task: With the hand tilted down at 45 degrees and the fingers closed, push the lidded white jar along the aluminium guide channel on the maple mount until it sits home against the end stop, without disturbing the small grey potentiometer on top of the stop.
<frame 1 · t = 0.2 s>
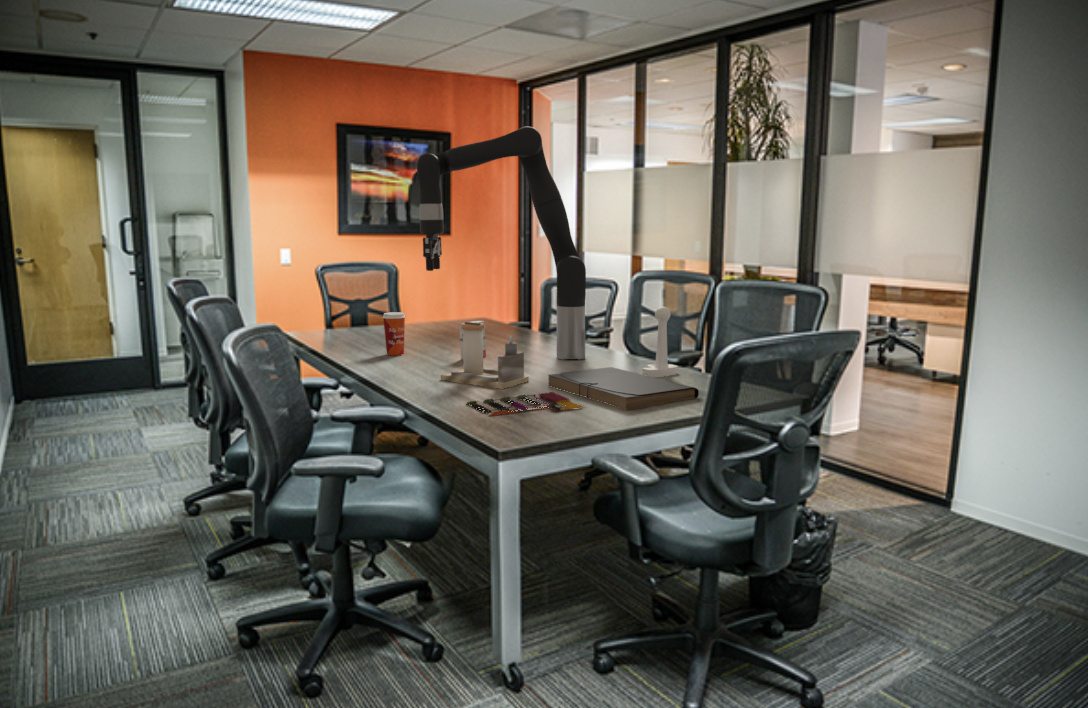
hand: (433, 269, 244), 29 cm above the table, tool pointing down, fingers open, 8 cm apart
colourful patterned flat panel: (526, 410, 185), on the table
paper cup: (395, 355, 257), on the table
ink box: (473, 358, 250), on the table
lidded white jar: (473, 348, 215), point 9 cm above the table, slide at 0.0 cm
maple mount: (484, 380, 214), on the table
potentiometer: (511, 354, 208), point 8 cm above the table, touching maple mount
joystick: (657, 374, 223), on the table
brown book: (620, 394, 200), on the table
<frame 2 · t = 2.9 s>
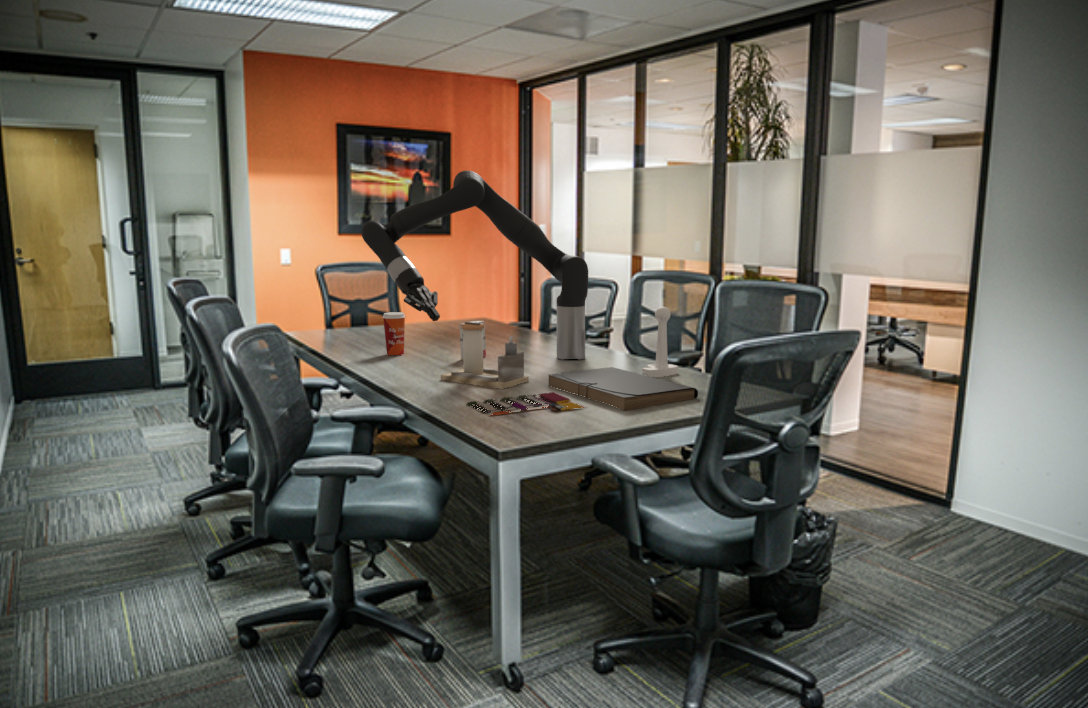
hand: (436, 319, 221), 16 cm above the table, tool tilted 45°, fingers closed
nothing on the table moved.
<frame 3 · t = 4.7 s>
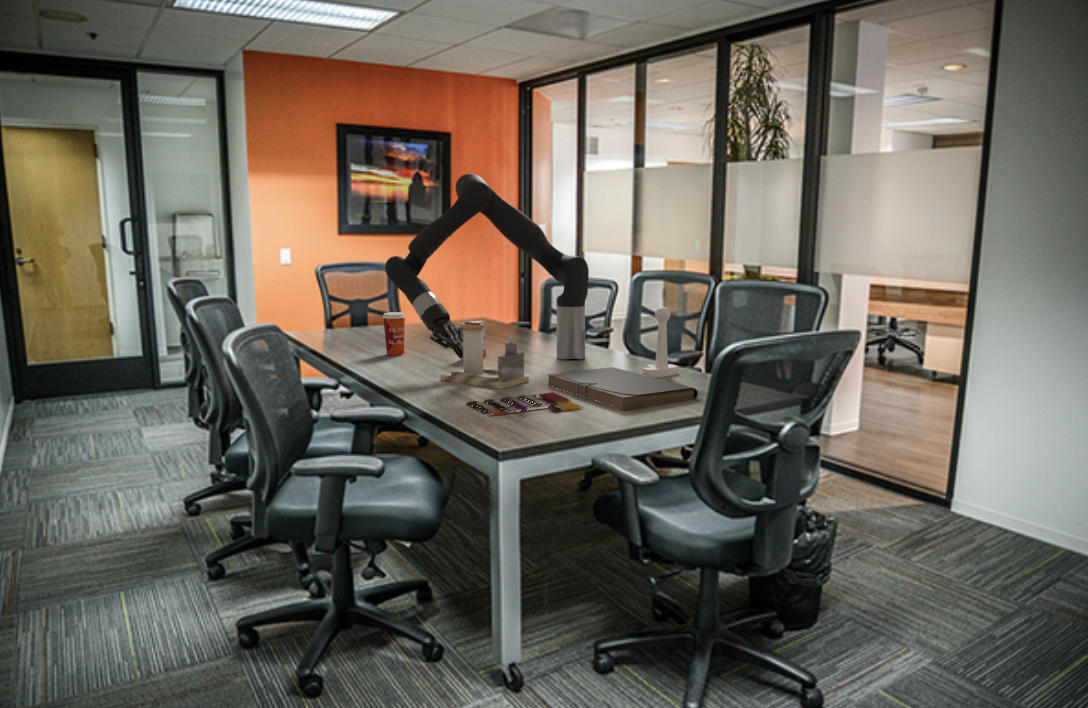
hand: (463, 356, 217), 6 cm above the table, tool tilted 45°, fingers closed
lidded white jar: (473, 348, 215), point 9 cm above the table, slide at 0.0 cm, touching gripper
everything else where it was.
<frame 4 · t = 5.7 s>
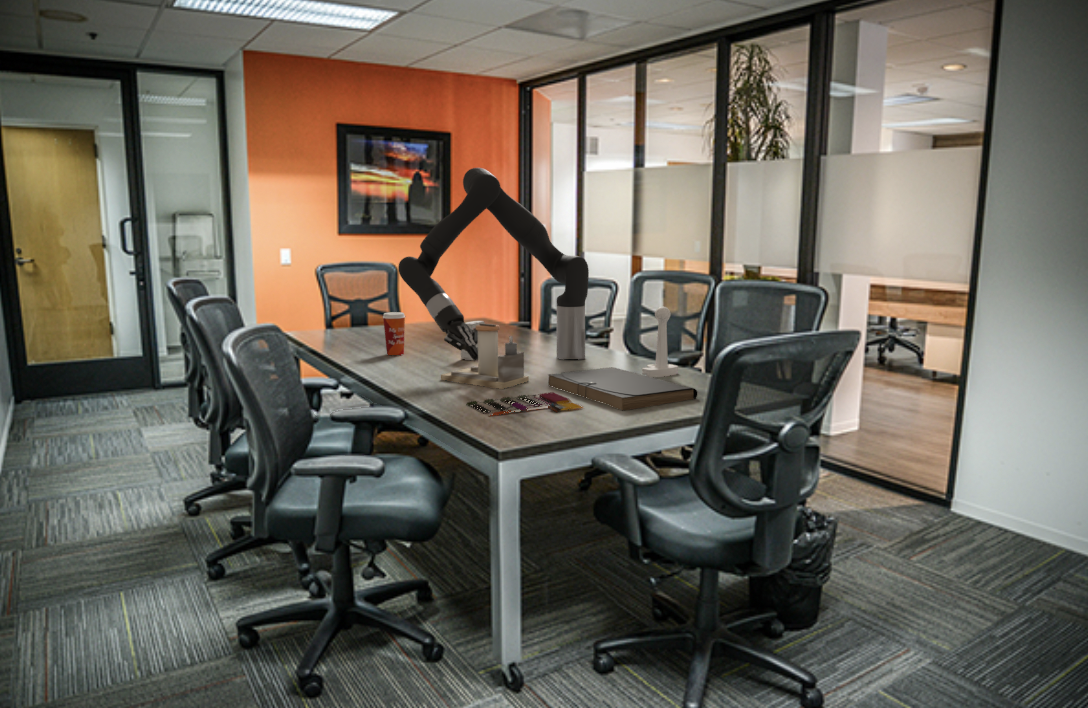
hand: (478, 358, 214), 6 cm above the table, tool tilted 45°, fingers closed
lidded white jar: (487, 349, 212), point 9 cm above the table, slide at 5.4 cm, touching gripper
everything else where it was.
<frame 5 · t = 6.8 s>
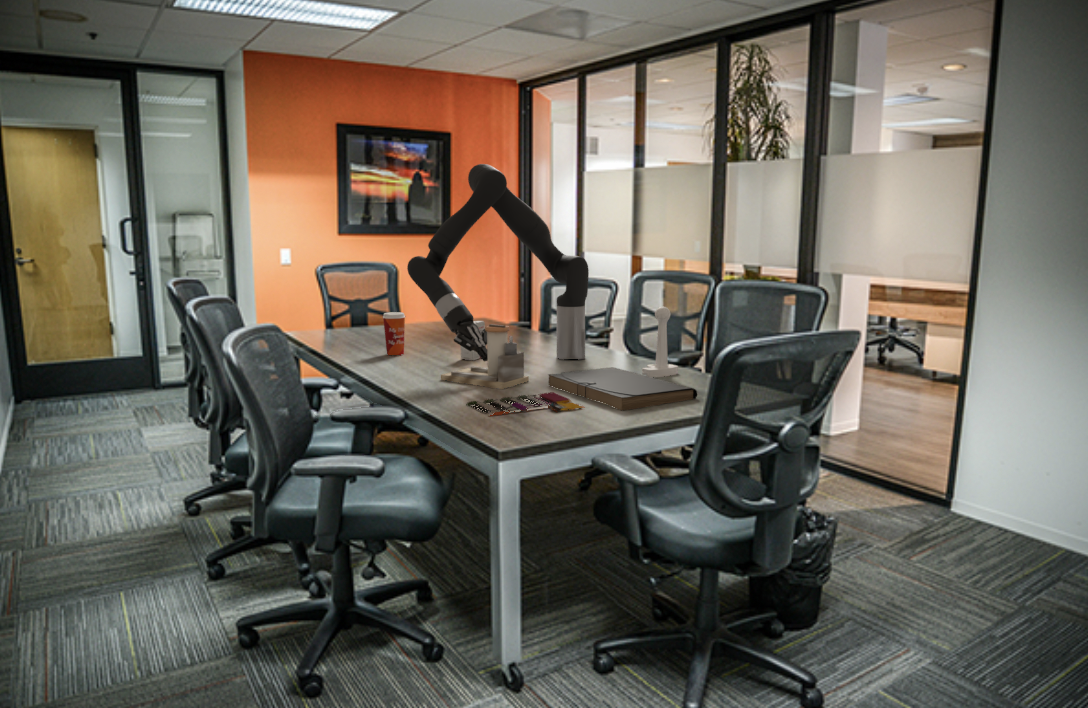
hand: (488, 359, 212), 6 cm above the table, tool tilted 45°, fingers closed
lidded white jar: (497, 351, 210), point 9 cm above the table, slide at 8.8 cm, touching gripper
everything else where it was.
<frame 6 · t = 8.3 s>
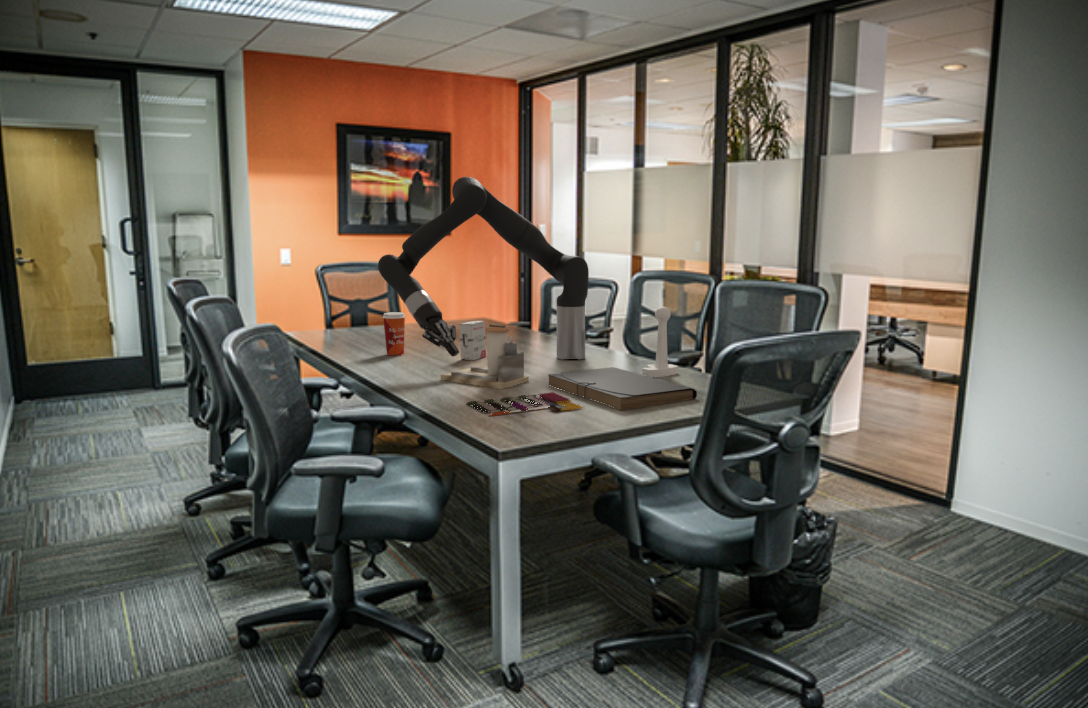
hand: (455, 354, 219), 7 cm above the table, tool tilted 45°, fingers closed
lidded white jar: (497, 351, 210), point 9 cm above the table, slide at 8.8 cm
everything else where it was.
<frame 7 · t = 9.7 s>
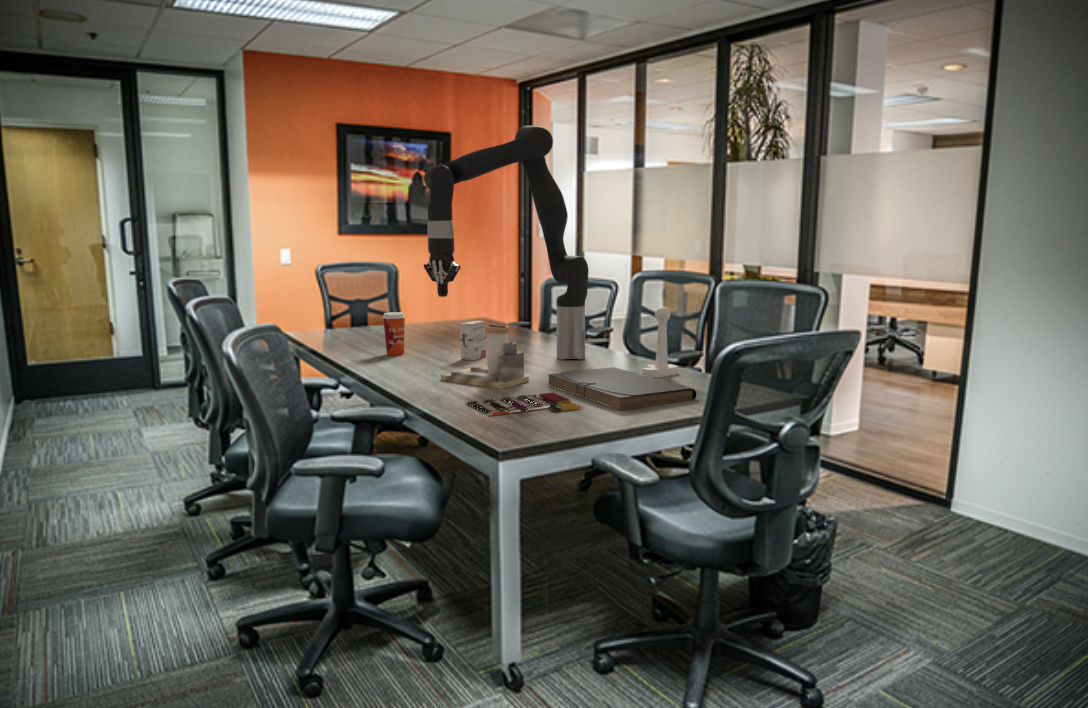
hand: (442, 296, 223), 23 cm above the table, tool pointing down, fingers closed
nothing on the table moved.
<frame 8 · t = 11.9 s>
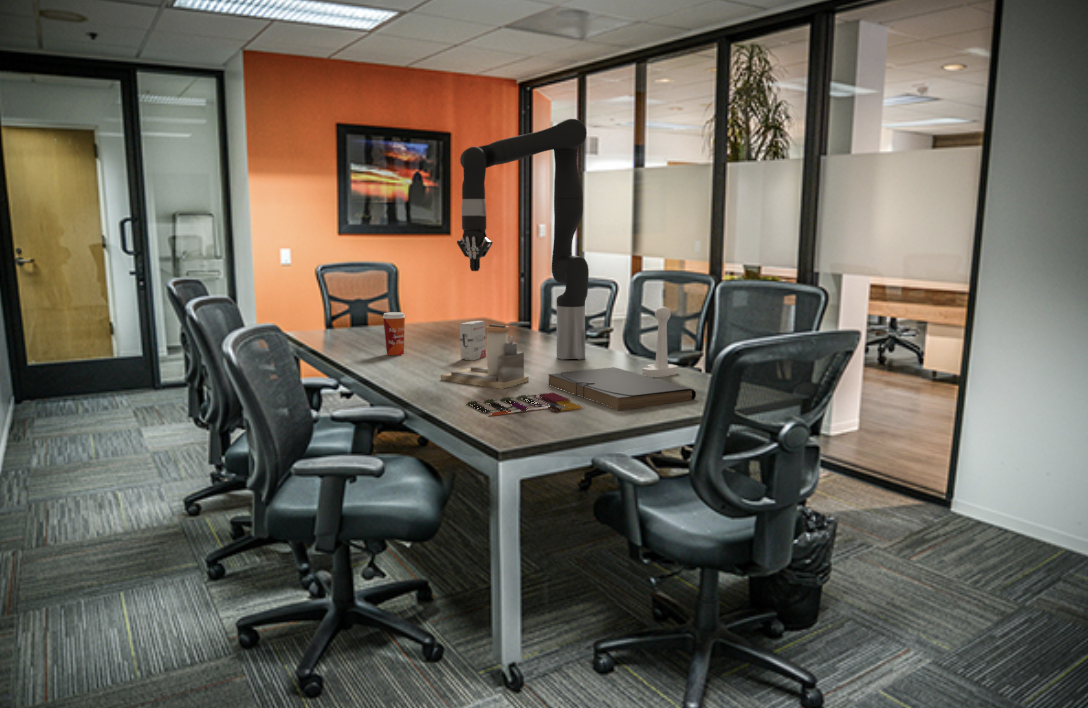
hand: (475, 270, 237), 29 cm above the table, tool pointing down, fingers closed
nothing on the table moved.
at the end: lidded white jar slide at 8.8 cm; potentiometer moved 0.0 cm from its start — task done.
